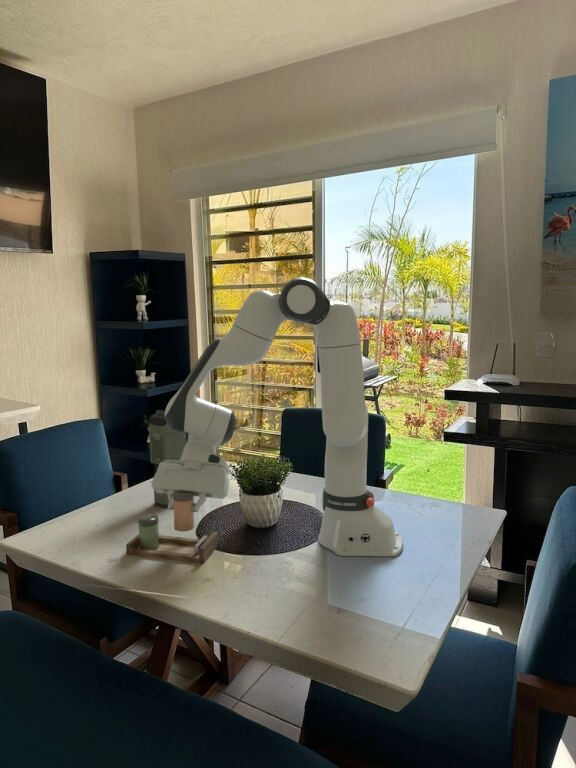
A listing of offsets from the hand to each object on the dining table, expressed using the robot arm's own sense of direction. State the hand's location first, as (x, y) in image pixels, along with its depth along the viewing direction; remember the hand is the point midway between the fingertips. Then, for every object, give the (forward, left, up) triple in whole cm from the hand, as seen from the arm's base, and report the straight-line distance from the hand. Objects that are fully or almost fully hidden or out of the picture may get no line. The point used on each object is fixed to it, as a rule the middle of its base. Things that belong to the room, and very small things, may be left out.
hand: (182, 510), depth 138 cm
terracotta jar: (0, -1, -5) cm, 5 cm away
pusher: (-5, -1, -11) cm, 12 cm away
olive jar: (+10, -1, -11) cm, 15 cm away
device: (+19, -35, -12) cm, 41 cm away
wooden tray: (+3, -1, -12) cm, 12 cm away
